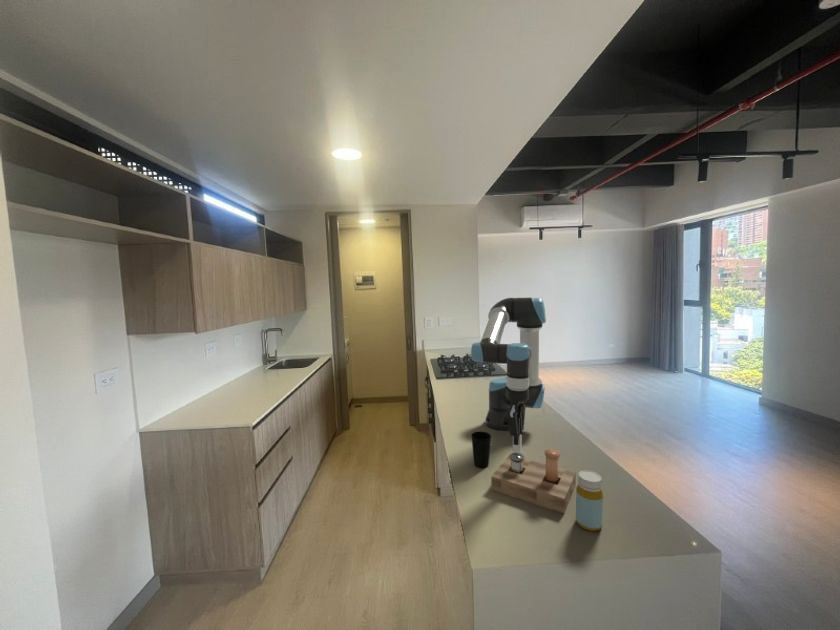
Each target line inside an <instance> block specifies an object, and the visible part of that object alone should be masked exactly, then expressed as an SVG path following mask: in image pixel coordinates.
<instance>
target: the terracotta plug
mask: <svg viewBox="0 0 840 630" xmlns="http://www.w3.org/2000/svg"><path fill="white" fill-rule="evenodd" d="M560 455H561V453H560V451H559V450H556V449H552V448H547V449H545V450H544V456H545V464H546V475H545V477H546V479H548V480H550V481H557V480H558V468H559V458H560Z"/></svg>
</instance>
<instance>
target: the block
mask: <svg viewBox="0 0 840 630" xmlns="http://www.w3.org/2000/svg"><path fill="white" fill-rule="evenodd" d="M499 465H500V466H499V467H498V468H497V469H495V471H494V473H493V474H492V475H491V479H490V480H491V484H490V485H491V491H493V492H497V493H500V494H503V495H506V496H510V497H511V498H514V499H517V500H518V499H519V500H521V501H524V502H527V503H530V504H533V505H536V506H538V507H542V508H545V509H547V510H551V511H555V512H558V513H560V514H564V515H565V513H566V510H567V508H568V505H569V503H570V501H571V499H572V495H573V493H574V491H575V488H576V480H577V478H576V477H577V473H576V471H572V470H569V469H564V468H561V467H558V480H557V481H550V480H548V479H546V477H545V475H546V463H542V462H538V461H534V460H530V459H528V458H527V459H526V458H524V461H523V473H522V475H521V474H518V473H514V472H511V459H510V454H508V456H507V457H505V459H504V460H503V461H502V463H501V464H499Z"/></svg>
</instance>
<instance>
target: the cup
mask: <svg viewBox="0 0 840 630" xmlns="http://www.w3.org/2000/svg"><path fill="white" fill-rule="evenodd" d="M470 435H471V444H472V455H473V464H474V466H475V467H476V468H478V469H486V468H488V467H489V463H490V453H491V442H492V435H491V433H489V432H487V431H475V432H472V434H470Z"/></svg>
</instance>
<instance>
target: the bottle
mask: <svg viewBox="0 0 840 630" xmlns="http://www.w3.org/2000/svg"><path fill="white" fill-rule="evenodd" d="M577 478H578V479H577V481H578V484H577V487H576V489H575V490H576V495H575V496H576V499H575V521H576V523H577V525H578V526H579V527H580V528H581V529H584V530H585V529H586V531H588V530H589V532H598V531H599V530H600V529H602V527H603V509H604V506H603V503H604V493H603V490H602V485H603V484H602V483H603V478H602V476H601V475H600V474H599V473H598V472H595V471H592V470H581V471H579V472H578V477H577ZM597 530H598V531H597Z"/></svg>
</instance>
